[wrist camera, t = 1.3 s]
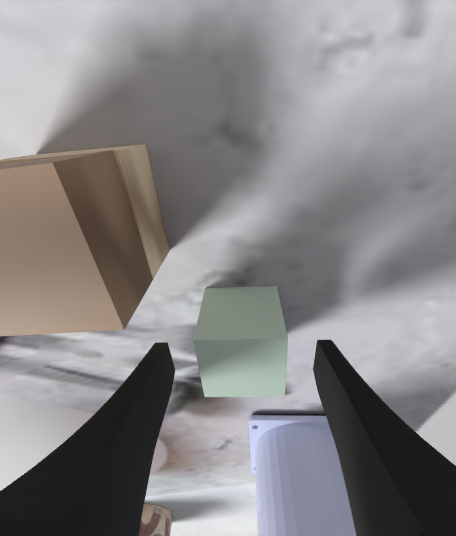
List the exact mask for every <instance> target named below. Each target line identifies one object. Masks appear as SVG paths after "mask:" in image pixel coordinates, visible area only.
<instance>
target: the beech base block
mask: <svg viewBox="0 0 456 536" xmlns="http://www.w3.org/2000/svg"><path fill="white" fill-rule="evenodd" d="M108 150H113V152H114V155H115V159H116V162H117V165H118V168H119V171H120V175H121V178H122V181H123V184H124V187H125V191H126V194H127V197H128V200H129V203H130V207H131V210H132V213H133V216H134V219H135V223H136V226H137V229H138V232H139V235H140V239H141V242H142V245H143V248H144V251H145V255H146V258H147V261H148V264H149V268H150V271H151V274H152V277H153V279H154V277H155V275H156V273H157V272H158V270H159V268H160V266H161V265H162V263H163V261H164V259H165V258H166V256H167V254H168V252H169V251H170V250H169V245H168V241H167V236H166V232H165V228H164V223H163V219H162V214H161V210H160V205H159V201H158V196H157V192H156V187H155V183H154V178H153V174H152V169H151V165H150V160H149V156H148V152H147V147H146V144H141V145H130V146H120V147H109V148H98V149H88V150H77V151H67V152H56V153H46V154H35V155H29V156H22V157H16V158H10V159H3V160H0V165H1V164H8V163H16V162H24V161H31V160H39V159H47V158H54V157H62V156H70V155H78V154H85V153H93V152H101V151H108Z"/></svg>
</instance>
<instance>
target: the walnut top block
mask: <svg viewBox="0 0 456 536" xmlns="http://www.w3.org/2000/svg"><path fill="white" fill-rule="evenodd" d="M152 280H153V277H152V274H151V271H150V268H149V264H148V261H147V258H146V255H145V251H144V248H143V245H142V242H141V239H140V235H139V232H138V229H137V226H136V223H135V219H134V216H133V213H132V210H131V207H130V203H129V200H128V197H127V194H126V191H125V187H124V184H123V181H122V178H121V175H120V171H119V168H118V165H117V162H116V159H115V155H114V152H113V150H108V151H101V152H93V153H85V154H78V155H70V156H62V157H54V158H47V159H39V160H31V161H24V162H16V163H8V164H1V165H0V336H15V335H34V334H53V333H72V332H91V331H110V330H124V329H125V328H126V326H127V324H128V322H129V321H130V319H131V317H132V315H133V314H134V312H135V310H136V308H137V307H138V305H139V303H140V301H141V300H142V298H143V296H144V294H145V293H146V291H147V289H148V287H149V286H150V284H151V282H152Z"/></svg>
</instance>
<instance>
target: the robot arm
mask: <svg viewBox="0 0 456 536" xmlns="http://www.w3.org/2000/svg"><path fill="white" fill-rule="evenodd" d="M313 370H314V375H315V380H316V385H317V389H318V393H319V396H320V399H321V402H322V406H323V409H324V412H325V415H326V416H281V415H253V416H250V417H249V436H250V452H251V468H252V474H253V475H256V491H257V518H258V536H456V466H455V465H454V464H453V463H451V462H450V461H449V460H448V459H446V458H445V457H444V456H443V455H442V454H441V453H439V452H438V451H437V450H436V449H435V448H433V447H432V446H431V445H430V444H428V443H427V442H426V441H425V440H423V438H421V437H420V436H419V435H418V434H417V433H416V432H415V431H414V430H412V429H411V428H410V427H409V426H408V425H407V424H406V423H405V422H404V421H403V420H402V419H401V418H400V417H398V416H397V415H396V414H395V413H394V412H393V411H392V410H391V409H390V408H389V407H388V406H387V405H386V404H385V403H384V402H383V401H382V400H381V399H380V397H379V396H378V395H377V394H376V393H375V392H374V391H373V390H372V389H371V388H370V387H369V386H368V384H367V383H366V382H365V381H364V380H363V379H362V378H361V376H360V375H359V374H358V373H357V372H356V371H355V369H354V368H353V367H352V366H351V365H350V363H349V362H348V361H347V360H346V358H345V357H344V356H343V354H342V353H341V352H340V351H339V349H338V348H337V347H336V345H335V344H334V343H333V341H332V340H317V346H316V353H315V360H314V367H313ZM174 374H175V368H174V364H173V361H172V357H171V353H170V350H169V346H168V343H155V344H154V345H153V346H152V348H151V349H150V350H149V351H148V353H147V354H146V355H145V357H144V358H143V359H142V361H141V362H140V363H139V364H138V366H137V367H136V368H135V370H134V371H133V372H132V373H131V374H130V376H129V377H128V378H127V379H126V381H125V382H124V383H123V384H122V385H121V386H120V387H119V389H118V390H117V391H116V392H115V393H114V394H113V395H112V396H111V398H110V399H109V400H108V401H107V402H106V403H105V404H104V405H103V406H102V407H101V408H100V409H99V410H98V411H97V412H96V413H95V414H94V415H93V416H92V417H91V418H90V419H89V420H88V421H87V422H86V423H85V424H84V425H83V426H82V427H81V428H80V429H78V430H77V431H76V432H75V433H74V434H73V435H72V436H71V437H70V438H68V439H67V440H66V441H65V442H64V443H63V444H61V445H60V446H59V447H58V448H57V449H55V450H54V451H53V452H52V453H50V454H49V455H48V456H47V457H46V458H45V459H43V460H42V461H41V462H39V463H38V464H37V465H36V466H34V467H33V468H32V469H30V470H29V471H28V472H27V473H25V474H24V475H22V476H21V477H20V478H18V479H17V480H15V481H14V482H13V483H11V484H10V485H8V486H7V487H6V488H4V489H3V490H2V491H0V536H139V530H140V524H141V518H142V512H143V506H144V501H145V495H146V490H147V485H148V479H149V474H150V469H151V464H152V459H153V455H154V450H155V446H156V442H157V439H158V435H159V432H160V428H161V425H162V422H163V418H164V415H165V412H166V408H167V405H168V401H169V398H170V394H171V391H172V385H173V380H174Z"/></svg>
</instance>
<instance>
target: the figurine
mask: <svg viewBox="0 0 456 536" xmlns="http://www.w3.org/2000/svg"><path fill="white" fill-rule="evenodd" d="M171 525H172V516H171V512H170V511H169V510H166V509H164V508H162V507H160V506H156V505H150V504H144V506H143V512H142V518H141V524H140V530H139V536H170V530H171Z"/></svg>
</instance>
